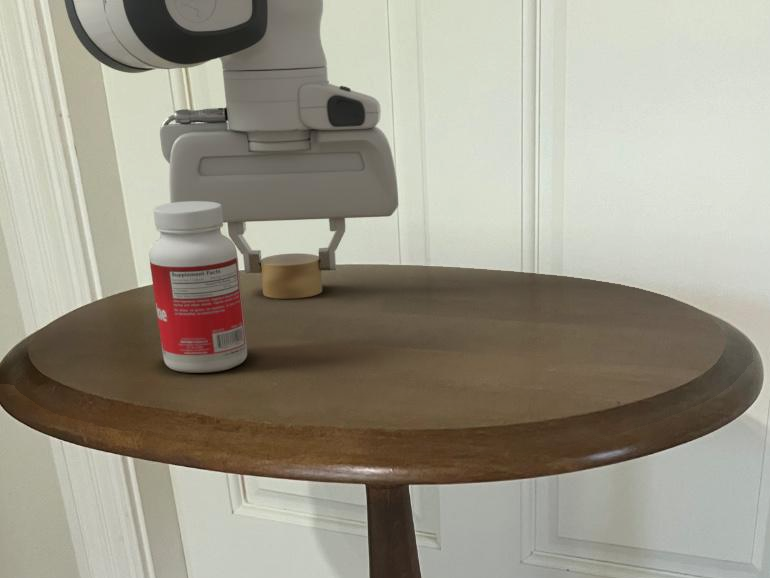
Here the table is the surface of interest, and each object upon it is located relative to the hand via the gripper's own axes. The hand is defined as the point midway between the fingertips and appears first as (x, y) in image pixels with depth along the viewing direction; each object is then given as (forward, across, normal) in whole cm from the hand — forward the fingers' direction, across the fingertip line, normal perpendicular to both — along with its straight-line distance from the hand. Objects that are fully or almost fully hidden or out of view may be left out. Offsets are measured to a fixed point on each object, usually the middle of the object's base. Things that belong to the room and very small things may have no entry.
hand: (291, 270), depth 100 cm
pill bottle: (+2, -5, -23) cm, 24 cm away
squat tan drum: (+2, 0, 0) cm, 2 cm away
